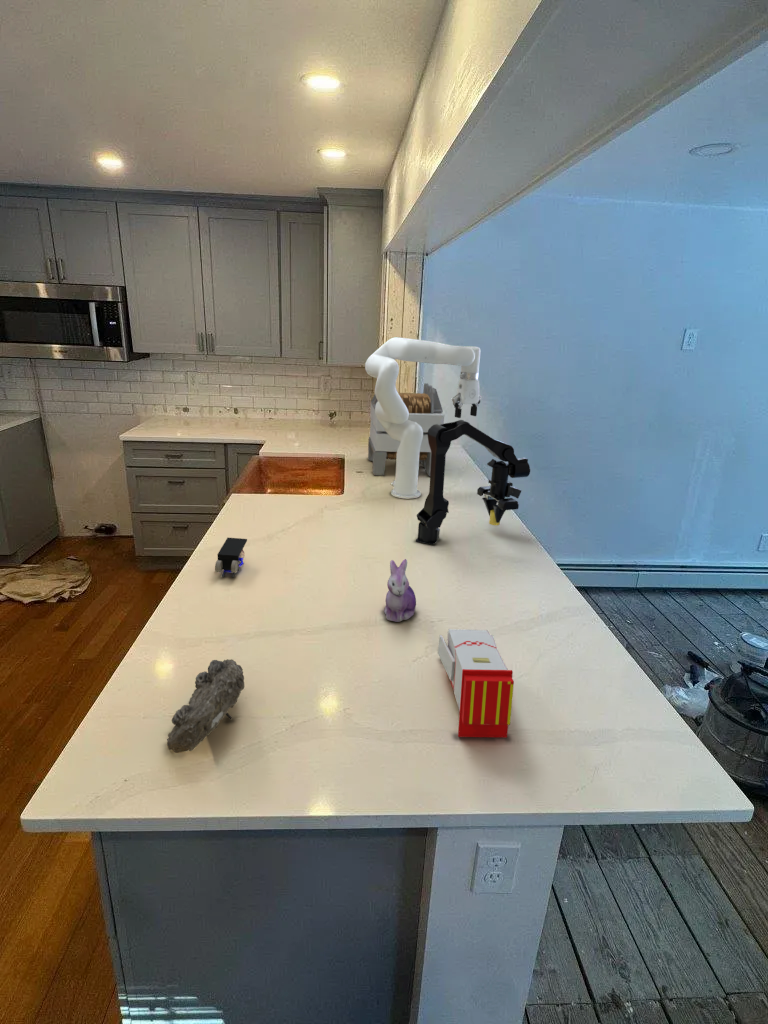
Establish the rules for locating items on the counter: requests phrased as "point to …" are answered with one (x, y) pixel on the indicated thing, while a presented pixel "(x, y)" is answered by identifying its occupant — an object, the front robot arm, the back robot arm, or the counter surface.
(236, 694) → the fossil
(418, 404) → the grey crate stand
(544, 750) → the counter surface
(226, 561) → the black toy car
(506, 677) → the toy
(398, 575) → the figurine
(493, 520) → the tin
